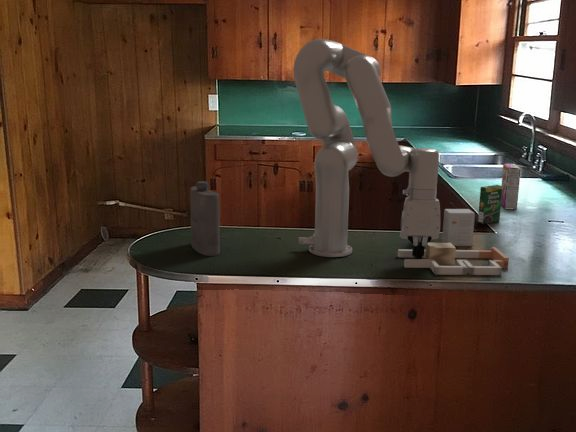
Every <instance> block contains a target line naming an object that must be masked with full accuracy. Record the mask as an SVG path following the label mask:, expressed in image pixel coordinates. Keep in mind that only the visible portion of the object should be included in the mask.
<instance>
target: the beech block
mask: <svg viewBox="0 0 576 432" xmlns="http://www.w3.org/2000/svg"><path fill="white" fill-rule="evenodd" d="M425 250H426V251H425V258H424V259H434V260H435V261H436V263H437V264H438V265H439V266H455V263H456V258H455V252H456V250H457V248H456V246H453V244H452V243H444V242H428V243H427V244H426V246H425Z"/></svg>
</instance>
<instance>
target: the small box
mask: <svg viewBox="0 0 576 432" xmlns="http://www.w3.org/2000/svg"><path fill="white" fill-rule="evenodd" d="M475 217H476V214H475V212H473V211H472V210H471V209H469V208H445V209H444V211H443V223H442V224H443V225H442V238H441V240H442V243H452V244H453V246H454V247H472V246H473V242H474V241H473V240H474V231H475V230H474V228H475Z"/></svg>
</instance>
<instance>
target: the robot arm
mask: <svg viewBox="0 0 576 432" xmlns="http://www.w3.org/2000/svg"><path fill="white" fill-rule="evenodd" d="M292 69H293V71H292V73H293V79H294V83H295V87H296V90H297V93H298V97H299V101H300V105H301V108H302V111H303V115H304V119H305V122H306V126H307V129H308V132H309V133H310V135H311V136H312V137H313V138H315V139H317V140H321V143H322V145H323V146H322V147H321V148H319V150H318V151H317V152H316V155H315V157H314V163H313V164H314V165H313V167H314V177H315V207H314V208H315V211H314V214H315V215H314V233H313V234H312V236H309V237H305V236H303V237H301V236H300V237H298V244H299V245H300V244H301V245H303V246H308V251H309V252H310V253H311V254H312V255H314V256H319V257H324V258H339V257H340V258H342V257H347V256H350V255H351V254H352V253H353V247H352V246H351V245H350V244H348V232H349V228H348V227H349V206H350V205H349V203H350V182H349V181H350V180H349V171H351V170H352V169H353V168H354V167H355V166H356V164H357V161H358V149H357V146H356V142H355V138H354V135H353V134H354V133H353V132H352V128H351V124H350V121H349V118H348V116H347V113H346V112H345V111H344V110H343V108H341V107H340V106H338V105H336V104H334V103H333V102H334V101H333V99H332V96H331V92H330V89H329V85H328V83H327V81H326V79H325V72H328V73H329V72H330V73H332V74H334V75H336V76H339V77H341V78H343V79H344V80H345V81H346V84H347V86H348V88H349V91H350V94H351V95H352V99H353V101H354V103H355V105H356V106H355V107H356V108H357V110H358V113H359V115H360V118H361V122H362V126H363V127H362V128H363V130H364V134H365V138H366V142H367V145H368V148H369V151H370V152H371V156H372V157H373V160H374V162H375V165H376V167H377V168H378V170H379V171H380V172H381V174H382V175H384V176H387V177H391V178H395V177H398V176H400V175H401V174H403V173H405V172H409V173H408V186H407V188H406V189H402V195H406V196H407V197H405V200H404V203H403V207H402V212H401V221H400V232H399V237H400V238H401V239H404V240H408V241H410V243H411V244H412V248H411V250H412V256H414V258H413V259H423V258H422V256H424V250H426V244H427V243H430V242H431V241H432V240H437V239H439V238H440V232H441V206H440V205H441V203H440V200H439V199H438V198H437V188H438V178H439V177H438V176H439V175H438V174H439V162H440V161H439V160H440V153H439V151H438V150H437V149H435V148H429V147H417V148H416V147H410V146H405V145H400V144H399V142H398V139H397V138H396V135H395V132H394V128H393V124H392V123H393V122H392V105H391V103H390V101H389V97H388V96H387V93H386V91H385V88H384V86H383V83H382V81H381V79H380V78H381V77H380V76H381V73H382V72H381V66H380V64H379V62H378V61H377V59H375V58H374V57H372V56H371V55H368V54H365V53H363V52H360V51H359V50H356V49H353V48H351V47H350V46H348V45H344V44H343V43H340V42H339V41H335V40H331V39H326V38H315V39H312V40H310V41H308V42H307V43H306V44H303V46H302V48H300V49H299V51H298V53H297V54H296V57H295V59H294V62H293V68H292ZM417 236H421V239H420V242H418V240H417Z"/></svg>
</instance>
